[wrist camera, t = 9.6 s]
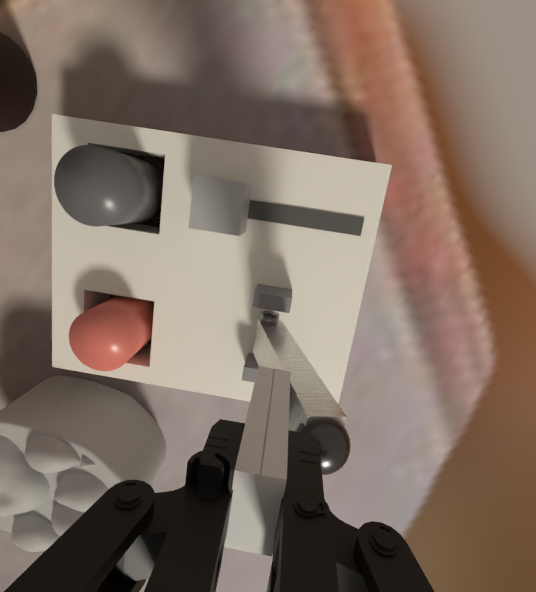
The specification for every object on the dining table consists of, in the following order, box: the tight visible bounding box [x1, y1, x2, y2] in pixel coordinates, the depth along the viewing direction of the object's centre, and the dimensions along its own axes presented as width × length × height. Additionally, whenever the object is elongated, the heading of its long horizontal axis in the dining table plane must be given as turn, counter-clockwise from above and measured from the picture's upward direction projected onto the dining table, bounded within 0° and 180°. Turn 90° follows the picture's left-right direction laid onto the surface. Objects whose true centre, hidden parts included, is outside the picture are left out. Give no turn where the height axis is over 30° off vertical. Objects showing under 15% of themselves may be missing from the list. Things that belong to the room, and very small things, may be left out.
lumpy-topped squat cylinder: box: [0, 375, 166, 552], centre depth 30 cm, size 10×13×9 cm
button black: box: [54, 145, 163, 227], centre depth 23 cm, size 4×4×6 cm
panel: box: [52, 114, 392, 403], centre depth 26 cm, size 22×18×6 cm
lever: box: [253, 310, 350, 475], centre depth 19 cm, size 2×3×13 cm
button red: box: [69, 295, 154, 371], centre depth 27 cm, size 4×4×6 cm
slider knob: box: [189, 175, 252, 236], centre depth 22 cm, size 3×3×3 cm
